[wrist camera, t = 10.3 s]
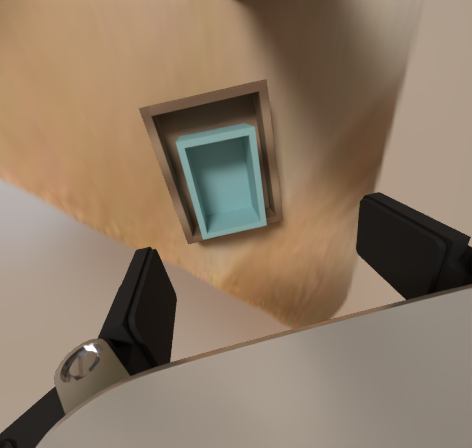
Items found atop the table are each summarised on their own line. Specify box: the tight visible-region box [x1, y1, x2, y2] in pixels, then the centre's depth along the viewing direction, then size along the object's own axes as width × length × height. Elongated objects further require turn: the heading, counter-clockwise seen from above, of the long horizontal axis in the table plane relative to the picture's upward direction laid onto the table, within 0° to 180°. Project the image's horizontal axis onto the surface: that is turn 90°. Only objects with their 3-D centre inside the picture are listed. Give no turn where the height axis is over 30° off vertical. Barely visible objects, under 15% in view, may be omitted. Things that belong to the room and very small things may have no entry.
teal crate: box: [176, 123, 267, 240], centre depth 24 cm, size 10×7×5 cm
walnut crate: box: [139, 79, 283, 244], centre depth 25 cm, size 15×12×4 cm
